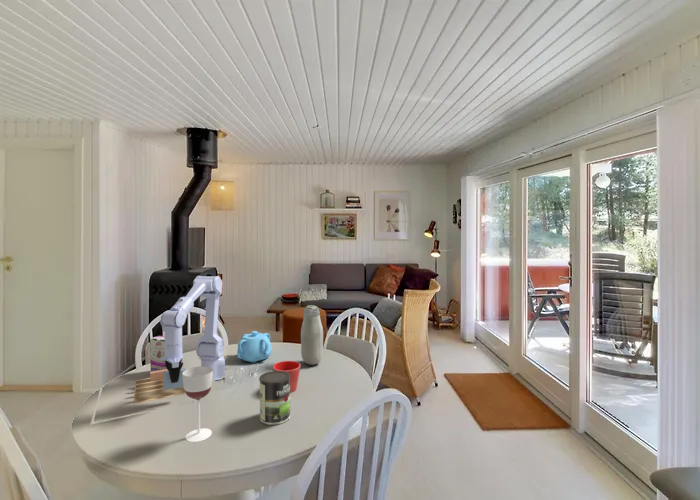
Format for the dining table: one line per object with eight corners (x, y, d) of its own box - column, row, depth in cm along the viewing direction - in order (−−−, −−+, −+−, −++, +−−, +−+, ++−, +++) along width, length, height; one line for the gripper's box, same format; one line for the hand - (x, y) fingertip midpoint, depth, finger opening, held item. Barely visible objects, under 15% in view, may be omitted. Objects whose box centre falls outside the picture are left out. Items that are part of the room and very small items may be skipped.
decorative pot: (242, 353, 188) (242, 327, 187) (273, 353, 189) (273, 327, 188) (233, 365, 172) (233, 336, 171) (268, 364, 172) (267, 336, 172)
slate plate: (184, 384, 134) (184, 368, 134) (185, 386, 132) (185, 370, 132) (163, 387, 131) (163, 371, 131) (163, 390, 129) (163, 373, 129)
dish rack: (184, 380, 153) (184, 371, 153) (188, 395, 140) (188, 385, 139) (134, 389, 145) (134, 379, 144) (133, 406, 131) (133, 395, 130)
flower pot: (306, 388, 146) (306, 365, 145) (283, 397, 138) (283, 372, 137) (289, 381, 153) (289, 358, 153) (267, 389, 145) (267, 365, 145)
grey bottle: (326, 362, 175) (326, 304, 174) (313, 369, 167) (313, 308, 165) (310, 358, 181) (310, 302, 179) (297, 364, 172) (296, 306, 170)
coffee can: (296, 414, 125) (296, 374, 124) (275, 428, 116) (275, 385, 116) (274, 407, 131) (274, 368, 130) (253, 419, 122) (252, 378, 121)
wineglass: (188, 428, 116) (187, 367, 115) (216, 427, 117) (216, 366, 116) (179, 442, 108) (178, 377, 107) (209, 441, 109) (208, 376, 108)
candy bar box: (178, 374, 160) (177, 337, 159) (169, 378, 155) (168, 340, 154) (159, 370, 164) (159, 334, 163) (150, 374, 159) (149, 338, 158)
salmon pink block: (170, 382, 148) (169, 368, 148) (170, 384, 147) (170, 370, 146) (150, 386, 145) (150, 371, 145) (150, 388, 143) (150, 373, 143)
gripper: (160, 340, 135) (161, 375, 136) (161, 351, 123) (162, 390, 123) (181, 337, 139) (181, 372, 139) (184, 348, 126) (185, 386, 127)
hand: (174, 380), depth 131 cm, fingers closed on slate plate, 2 cm apart
